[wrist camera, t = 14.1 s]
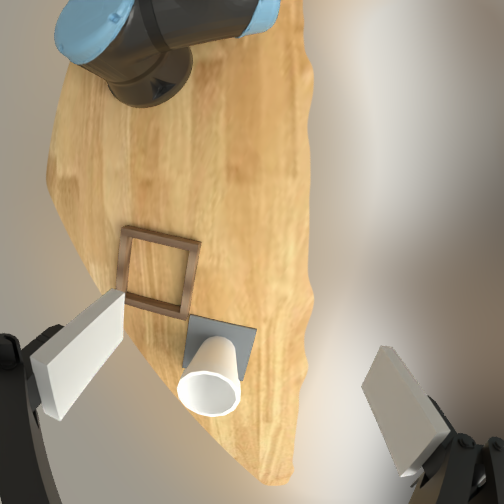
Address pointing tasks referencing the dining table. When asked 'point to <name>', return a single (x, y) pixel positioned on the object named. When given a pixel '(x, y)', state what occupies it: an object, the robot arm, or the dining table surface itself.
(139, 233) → the frame
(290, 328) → the dining table surface
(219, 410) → the foam cup
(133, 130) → the dining table surface
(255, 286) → the dining table surface
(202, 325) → the mat
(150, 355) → the dining table surface
